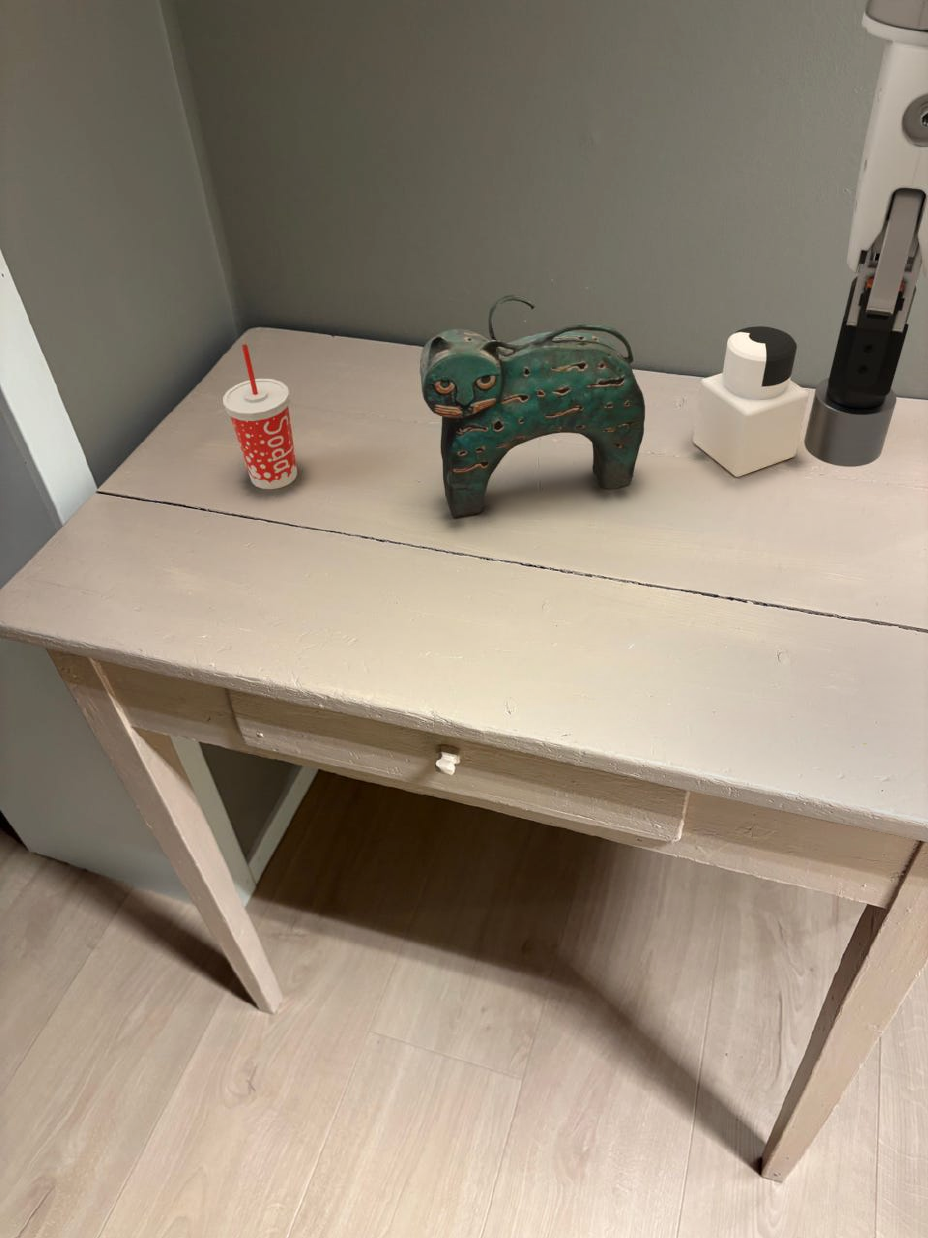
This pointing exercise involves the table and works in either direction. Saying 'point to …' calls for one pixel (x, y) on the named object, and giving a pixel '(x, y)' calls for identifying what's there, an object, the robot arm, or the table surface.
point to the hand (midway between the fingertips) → (862, 369)
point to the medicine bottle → (752, 403)
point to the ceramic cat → (529, 402)
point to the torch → (849, 418)
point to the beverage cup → (263, 428)
